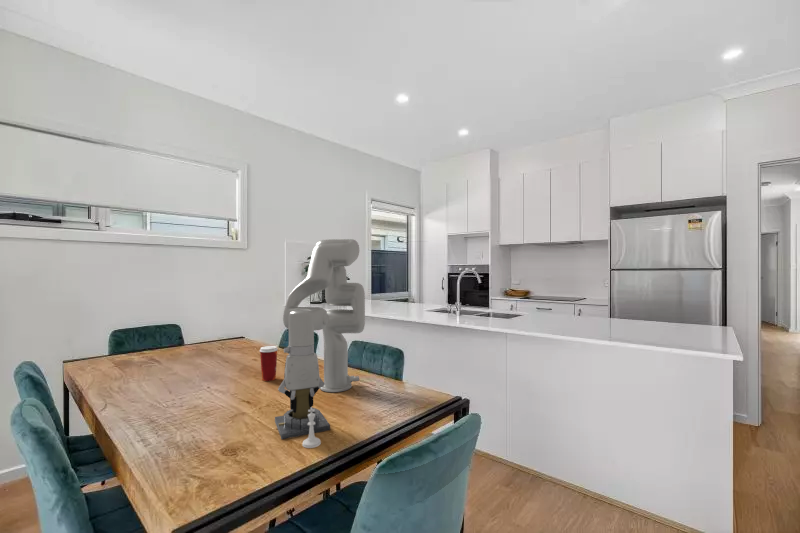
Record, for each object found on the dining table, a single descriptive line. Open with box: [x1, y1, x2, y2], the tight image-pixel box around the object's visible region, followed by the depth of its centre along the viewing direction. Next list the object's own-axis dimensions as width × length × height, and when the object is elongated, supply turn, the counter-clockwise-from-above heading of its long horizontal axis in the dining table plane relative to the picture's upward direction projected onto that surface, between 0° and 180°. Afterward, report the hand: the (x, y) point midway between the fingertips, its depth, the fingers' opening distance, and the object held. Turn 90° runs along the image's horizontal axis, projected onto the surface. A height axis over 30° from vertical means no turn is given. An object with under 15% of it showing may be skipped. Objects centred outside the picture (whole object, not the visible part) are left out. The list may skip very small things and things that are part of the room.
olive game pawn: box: [293, 388, 311, 418], centre depth 117 cm, size 6×6×11 cm
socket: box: [274, 407, 331, 440], centre depth 117 cm, size 14×14×4 cm
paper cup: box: [259, 345, 279, 382], centre depth 167 cm, size 8×8×14 cm
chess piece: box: [301, 406, 322, 449], centre depth 105 cm, size 5×5×10 cm
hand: (301, 409), depth 117 cm, fingers closed on olive game pawn, 4 cm apart
